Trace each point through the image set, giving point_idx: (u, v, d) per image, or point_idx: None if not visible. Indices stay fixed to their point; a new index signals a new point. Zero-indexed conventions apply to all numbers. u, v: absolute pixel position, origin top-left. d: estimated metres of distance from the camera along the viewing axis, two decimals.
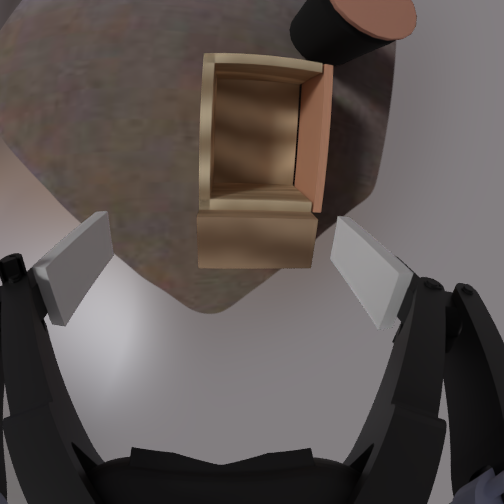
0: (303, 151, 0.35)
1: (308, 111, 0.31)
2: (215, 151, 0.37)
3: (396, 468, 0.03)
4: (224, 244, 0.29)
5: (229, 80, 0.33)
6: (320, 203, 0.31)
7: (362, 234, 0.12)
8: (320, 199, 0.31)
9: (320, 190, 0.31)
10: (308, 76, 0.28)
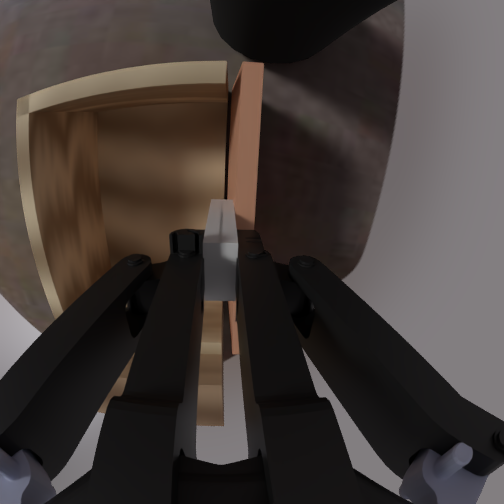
0: None
1: (231, 159, 0.18)
2: (105, 225, 0.24)
3: (298, 471, 0.03)
4: None
5: (113, 111, 0.19)
6: None
7: (225, 213, 0.14)
8: None
9: None
10: (216, 92, 0.14)
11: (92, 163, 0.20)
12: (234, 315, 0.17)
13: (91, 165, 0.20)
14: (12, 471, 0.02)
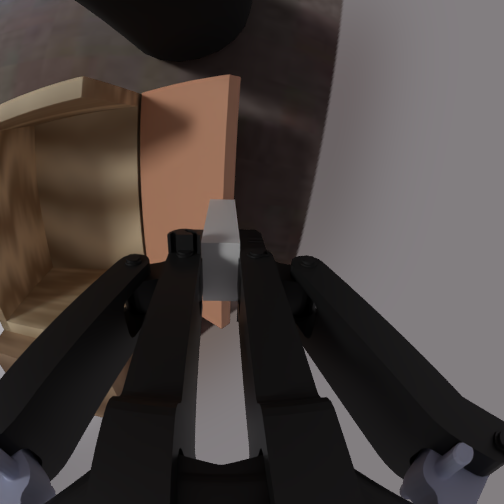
0: (163, 227, 0.22)
1: (169, 159, 0.18)
2: (45, 228, 0.22)
3: (300, 471, 0.03)
4: None
5: (46, 124, 0.18)
6: (228, 313, 0.21)
7: (226, 213, 0.14)
8: (227, 308, 0.21)
9: None
10: (98, 102, 0.13)
11: (29, 172, 0.19)
12: None
13: (28, 174, 0.18)
14: (11, 471, 0.02)
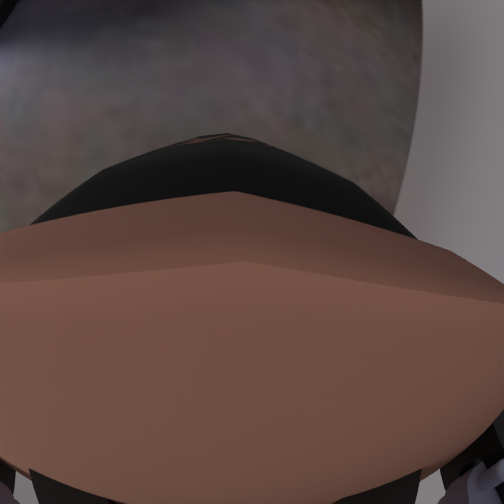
0: None
1: None
2: None
3: None
4: None
5: None
6: None
7: None
8: None
9: None
10: None
11: None
12: None
13: None
14: None
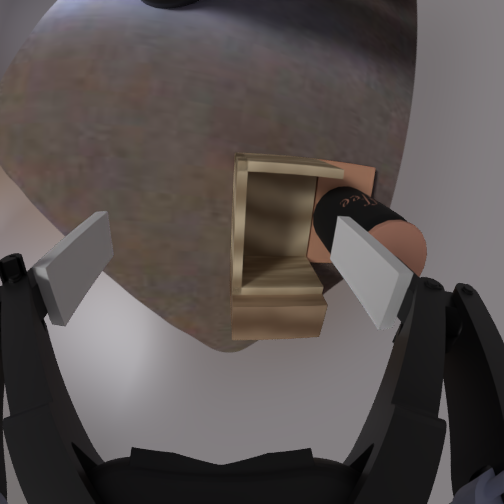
0: None
1: None
2: None
3: (396, 468, 0.03)
4: (253, 324, 0.37)
5: None
6: None
7: (362, 234, 0.12)
8: None
9: None
10: None
11: None
12: None
13: None
14: None
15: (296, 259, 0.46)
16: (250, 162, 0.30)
